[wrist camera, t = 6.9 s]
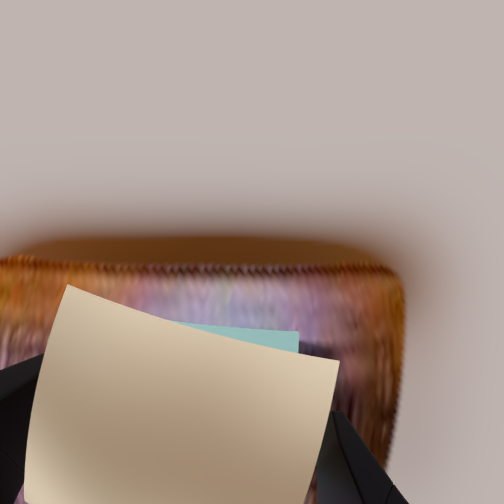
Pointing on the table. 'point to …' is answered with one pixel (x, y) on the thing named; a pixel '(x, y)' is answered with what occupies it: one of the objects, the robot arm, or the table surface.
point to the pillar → (170, 413)
